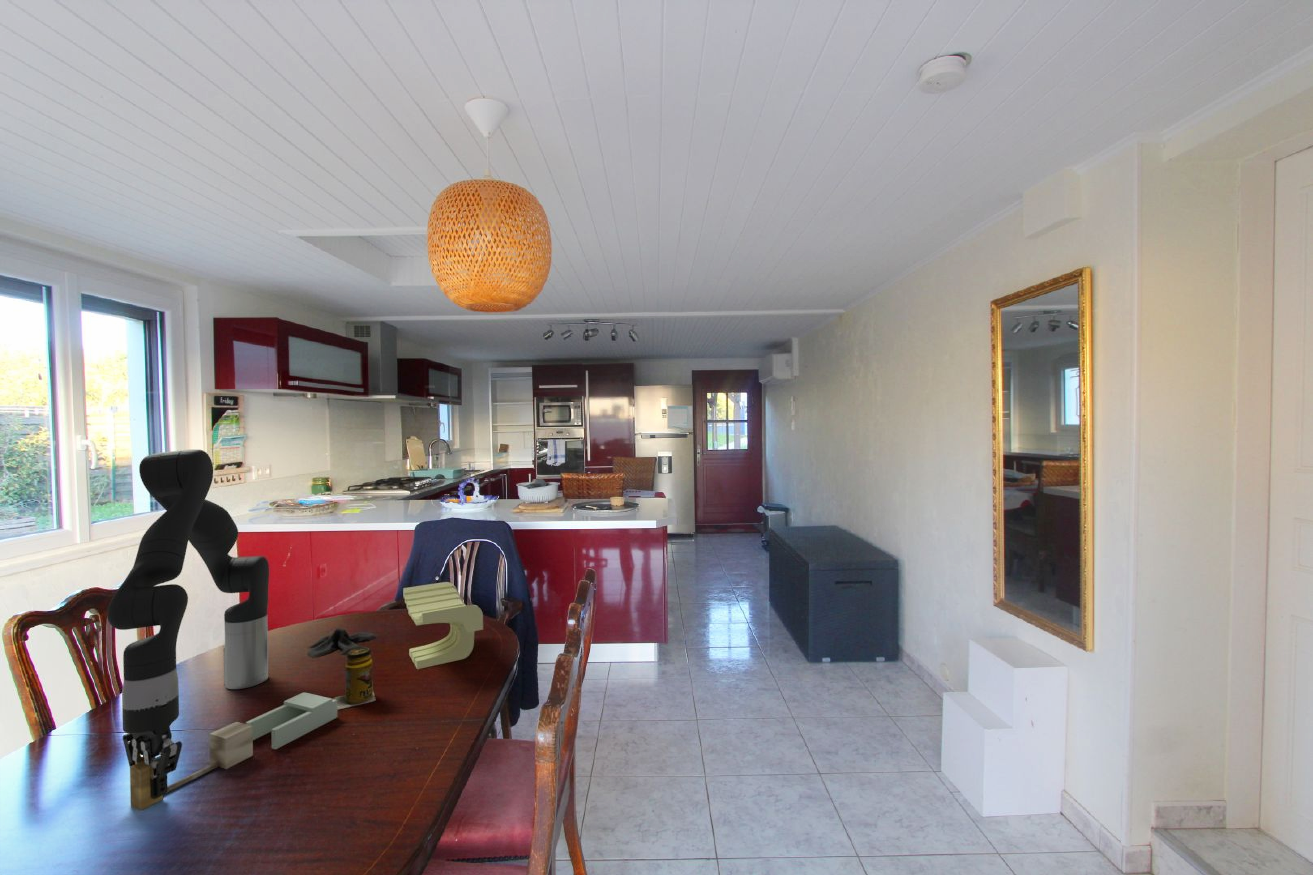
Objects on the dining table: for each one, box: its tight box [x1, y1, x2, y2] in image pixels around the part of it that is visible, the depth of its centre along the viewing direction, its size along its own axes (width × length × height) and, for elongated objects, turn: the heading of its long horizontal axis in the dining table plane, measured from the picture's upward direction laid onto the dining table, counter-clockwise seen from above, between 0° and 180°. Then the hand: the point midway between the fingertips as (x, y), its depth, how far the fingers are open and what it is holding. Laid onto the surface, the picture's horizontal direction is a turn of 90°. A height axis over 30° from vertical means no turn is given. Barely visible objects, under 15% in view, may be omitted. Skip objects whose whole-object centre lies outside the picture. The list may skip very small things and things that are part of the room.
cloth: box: [307, 627, 379, 659], centre depth 174 cm, size 22×19×6 cm
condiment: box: [333, 646, 377, 711], centre depth 138 cm, size 7×8×12 cm
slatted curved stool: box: [403, 581, 484, 670], centre depth 165 cm, size 30×16×18 cm, turn 33°
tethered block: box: [129, 721, 254, 811], centre depth 106 cm, size 5×18×7 cm, turn 158°
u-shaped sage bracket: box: [245, 691, 338, 750], centre depth 124 cm, size 9×14×5 cm, turn 158°
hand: (153, 792), depth 100 cm, fingers closed on tethered block, 3 cm apart
